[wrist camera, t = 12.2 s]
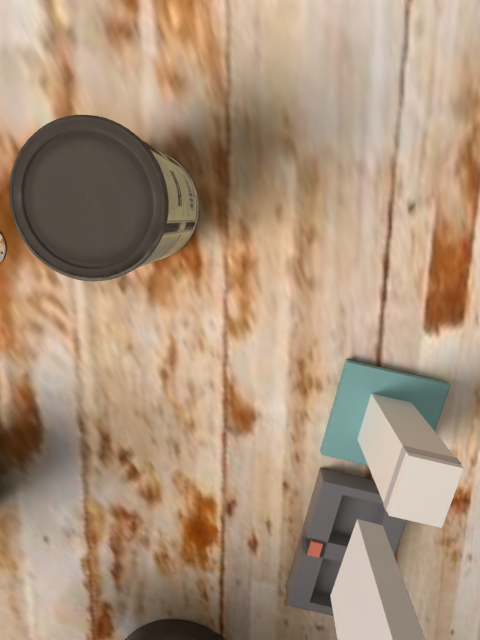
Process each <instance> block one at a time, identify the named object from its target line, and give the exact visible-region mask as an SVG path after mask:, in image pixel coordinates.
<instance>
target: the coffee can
mask: <svg viewBox="0 0 480 640" xmlns="http://www.w3.org/2000/svg"><path fill="white" fill-rule="evenodd" d="M9 199H10V207H11V212H12V216H13V219H14V222H15V225H16V227H17V230H18V232H19V234H20V236H21V237H22V239H23V241H24V242H25V244H26V245H27V246H28V248H29V249H30V250H31V252H32V253H33V254H34V255H35V256H36V257H37V258H38V259H39V260H41V261H42V262H43V263H44V264H45V265H47V266H48V267H50V268H51V269H53V270H54V271H56V272H58V273H60V274H62V275H65V276H68V277H70V278H73V279H78V280H83V281H104V280H110V279H114V278H118V277H120V276H123V275H125V274H127V273H129V272H131V271H132V270H134V269H136V268H138V267H140V266H143V265H145V264H148V263H151V262H153V261H156V260H160V259H164V258H167V257H169V256H171V255H173V254H174V253H176V252H177V251H179V250H180V249H181V248H182V247H183V246H184V245H185V244H186V243H187V242H188V240H189V239H190V237H191V236H192V234H193V232H194V230H195V227H196V224H197V221H198V215H199V202H198V195H197V192H196V188H195V186H194V183H193V181H192V179H191V177H190V176H189V174H188V173H187V172H186V170H185V169H184V168H183V167H182V166H181V165H180V164H179V163H178V162H177V161H176V160H174V159H173V158H171V157H169V156H168V155H166V154H164V153H161V152H160V151H158V150H157V149H155V148H153V147H152V146H150V145H148V144H147V143H145V142H144V141H142V140H141V139H140V138H139V137H138V136H136V135H135V134H134V133H133V132H131V131H130V130H129V129H127V128H126V127H124V126H122V125H121V124H119V123H116V122H114V121H112V120H109V119H107V118H103V117H98V116H92V115H74V116H67V117H63V118H59V119H57V120H54V121H52V122H50V123H48V124H46V125H45V126H43V127H42V128H40V129H39V130H38V131H37V132H36V133H34V134H33V135H32V136H31V137H30V138H29V139H28V141H27V142H26V143H25V145H24V146H23V147H22V149H21V150H20V152H19V154H18V156H17V158H16V160H15V163H14V165H13V169H12V172H11V178H10V186H9Z"/></svg>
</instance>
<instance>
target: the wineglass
mask: <svg viewBox="0 0 480 640" xmlns="http://www.w3.org/2000/svg"><path fill="white" fill-rule="evenodd" d="M5 253H6V245H5V241H4V238H3V236H2V235H1V233H0V263H1V262H2V260H3V259H4V256H5Z"/></svg>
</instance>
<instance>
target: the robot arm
mask: <svg viewBox="0 0 480 640" xmlns="http://www.w3.org/2000/svg"><path fill="white" fill-rule="evenodd" d="M330 597H331V603H332V609H333V615H334V621H335V628H336V634H337V640H425V638H424V635H423V632H422V630H421V627H420V624H419V621H418V619H417V616H416V613H415V611H414V608H413V605H412V603H411V600H410V597H409V595H408V592H407V589H406V587H405V584H404V581H403V578H402V576H401V573H400V570H399V568H398V565H397V562H396V560H395V557H394V554H393V552H392V549H391V546H390V544H389V541H388V538H387V536H386V533H385V530H384V527H383V525H379V524H375V523H371V522H367V521H363V520H359V519H357V521H356V524H355V526H354V529H353V532H352V535H351V538H350V541H349V544H348V547H347V549H346V552H345V555H344V558H343V561H342V564H341V567H340V570H339V572H338V575H337V578H336V581H335V584H334V587H333V590H332V593H331V595H330ZM125 640H223V639H222V638H221V637H220V636H219V635H217V634H216V633H214V632H213V631H211V630H209V629H207V628H205V627H203V626H201V625H198V624H195V623H191V622H187V621H180V620H165V621H158V622H154V623H150V624H147V625H145V626H143V627H141V628H139V629H137V630H136V631H134V632H133V633H132V634H130V635H129V636H128V637H127V638H126V639H125Z"/></svg>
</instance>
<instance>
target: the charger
mask: <svg viewBox="0 0 480 640" xmlns="http://www.w3.org/2000/svg"><path fill="white" fill-rule="evenodd" d="M357 440H358V442H359V445H360V447H361V449H362V452H363V454H364V457H365V459H366V462H367V464H368V466H369V469H370V471H371V474H372V476H373V479H374V481H375V484H376V486H377V488H378V491H379V493H380V496H381V498H382V501H383V503H384V504H383V505H384V508H385V510H386V511H387V513H388V515H389V516H392V517H396V518H401V519H405V520H409V521H414V522H418V523H422V524H426V525H431V526H435V527H439V528H442V526H443V524H444V521H445V518H446V515H447V513H448V510H449V507H450V505H451V502H452V499H453V496H454V494H455V491H456V488H457V486H458V483H459V480H460V477H461V475H462V472H463V469H464V468H463V467H462V465H461V463H460V461H459V460H458V459H457V458H455V457H454V455H453V454H452V453H451V452H450V450H449V449H448V448H447V447H446V445H445V444H444V443H443V441H442V440H441V439H440V438H439V436H438V435H437V434H436V433H435V431H434V430H433V429H432V428H431V426H430V425H429V424H428V423H427V421H426V420H425V419H424V417H423V416H422V415H421V414H420V412H419V411H418V410H417V409H416V407H415V406H414V405H413V404H412V402H407V401H403V400H398V399H394V398H390V397H385V396H381V395H377V394H372V393H371V396H370V399H369V403H368V406H367V409H366V412H365V416H364V419H363V422H362V426H361V429H360V432H359V436H358V439H357Z"/></svg>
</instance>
